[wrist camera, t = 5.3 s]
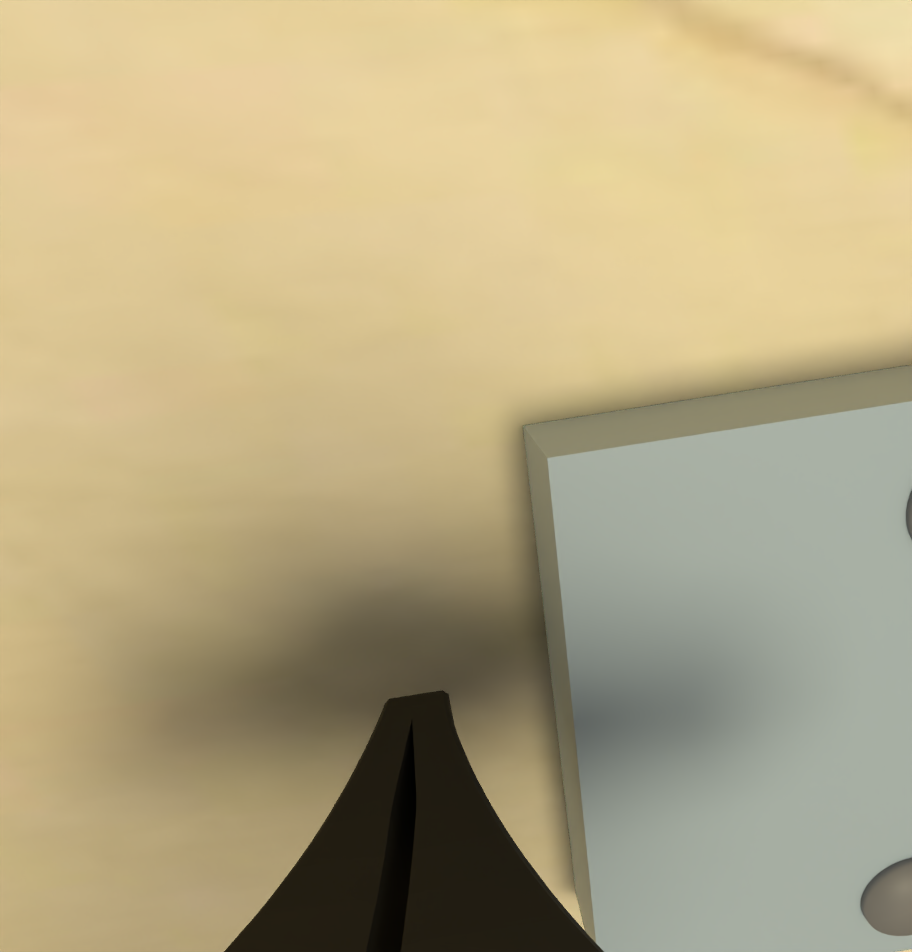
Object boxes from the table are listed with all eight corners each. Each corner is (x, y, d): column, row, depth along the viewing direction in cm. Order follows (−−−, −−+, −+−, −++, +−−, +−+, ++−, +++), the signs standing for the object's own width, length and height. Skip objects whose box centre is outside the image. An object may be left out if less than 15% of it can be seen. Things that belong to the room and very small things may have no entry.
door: (868, 829, 16) (967, 948, 13) (571, 875, 16) (603, 1003, 13) (923, 357, 12) (1088, 376, 9) (519, 421, 12) (549, 460, 9)
